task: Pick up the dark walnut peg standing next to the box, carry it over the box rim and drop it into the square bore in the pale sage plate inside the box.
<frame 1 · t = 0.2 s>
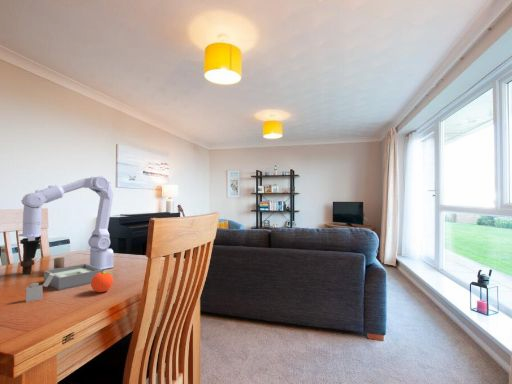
hand: (31, 256, 105), 10 cm above the table, tool pointing down, fingers open, 7 cm apart
bolt: (26, 274, 115), on the table
clementine: (103, 291, 94), on the table
bore box: (73, 281, 105), on the table
peg: (58, 274, 114), on the table
lighter: (39, 299, 87), on the table
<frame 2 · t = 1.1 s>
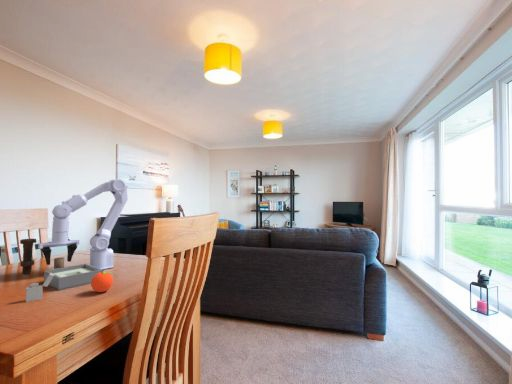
hand: (58, 262, 114), 5 cm above the table, tool pointing down, fingers open, 7 cm apart
nothing on the table moved.
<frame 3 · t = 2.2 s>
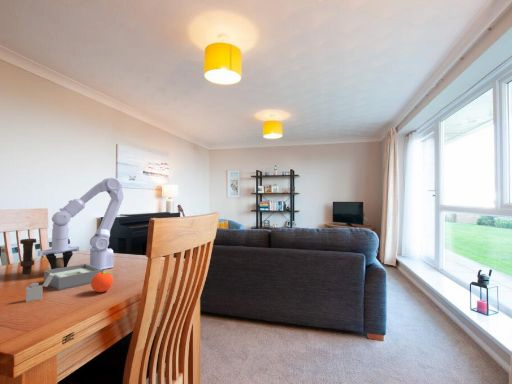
hand: (58, 269, 114), 2 cm above the table, tool pointing down, fingers closed on peg, 4 cm apart
peg: (58, 274, 114), on the table, touching gripper
everything else where it was.
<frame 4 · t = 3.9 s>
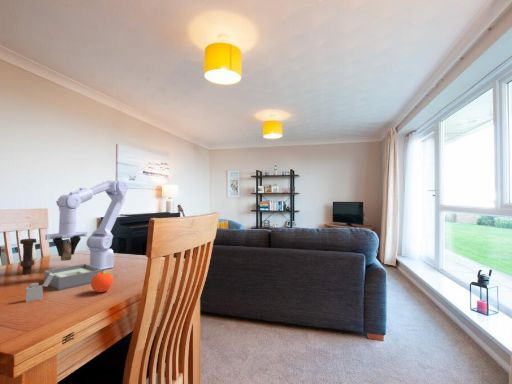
hand: (66, 255, 110), 9 cm above the table, tool pointing down, fingers closed on peg, 4 cm apart
peg: (66, 259, 110), point 7 cm above the table, touching gripper
everything else where it was.
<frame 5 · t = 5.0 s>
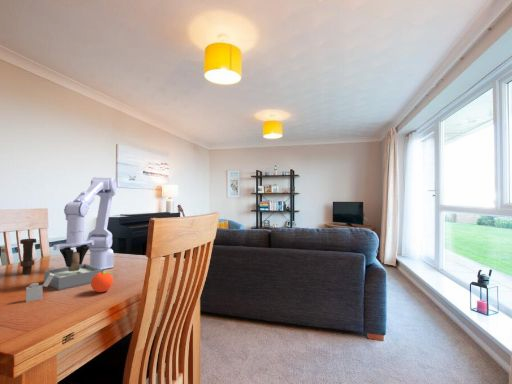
hand: (74, 265, 105), 6 cm above the table, tool pointing down, fingers closed on peg, 4 cm apart
peg: (73, 270, 105), point 4 cm above the table, touching gripper
everything else where it was.
when the fingers open (4 cm above the table, at t = 5.7 s): peg drops 2 cm, resting on bore box.
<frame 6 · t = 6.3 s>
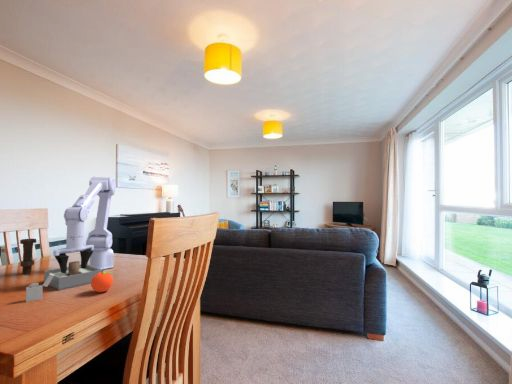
hand: (73, 270, 105), 4 cm above the table, tool pointing down, fingers open, 7 cm apart
peg: (73, 279, 105), point 1 cm above the table, touching bore box
everything else where it was.
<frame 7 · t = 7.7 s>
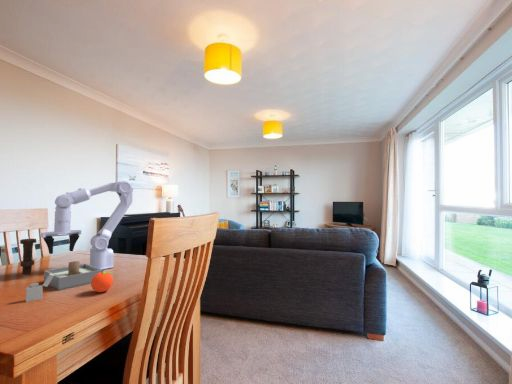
hand: (61, 252, 116), 9 cm above the table, tool pointing down, fingers open, 7 cm apart
nothing on the table moved.
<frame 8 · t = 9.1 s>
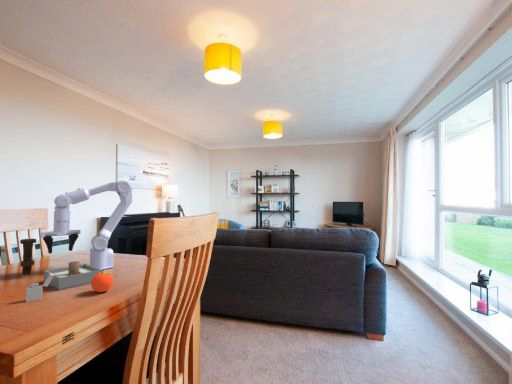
hand: (60, 251, 117), 9 cm above the table, tool pointing down, fingers open, 7 cm apart
nothing on the table moved.
at the end: peg 0.0 cm off-centre on the bore box, point 0.6 cm above the bore box's base; peg tilted 0°; the gripper is holding nothing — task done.
